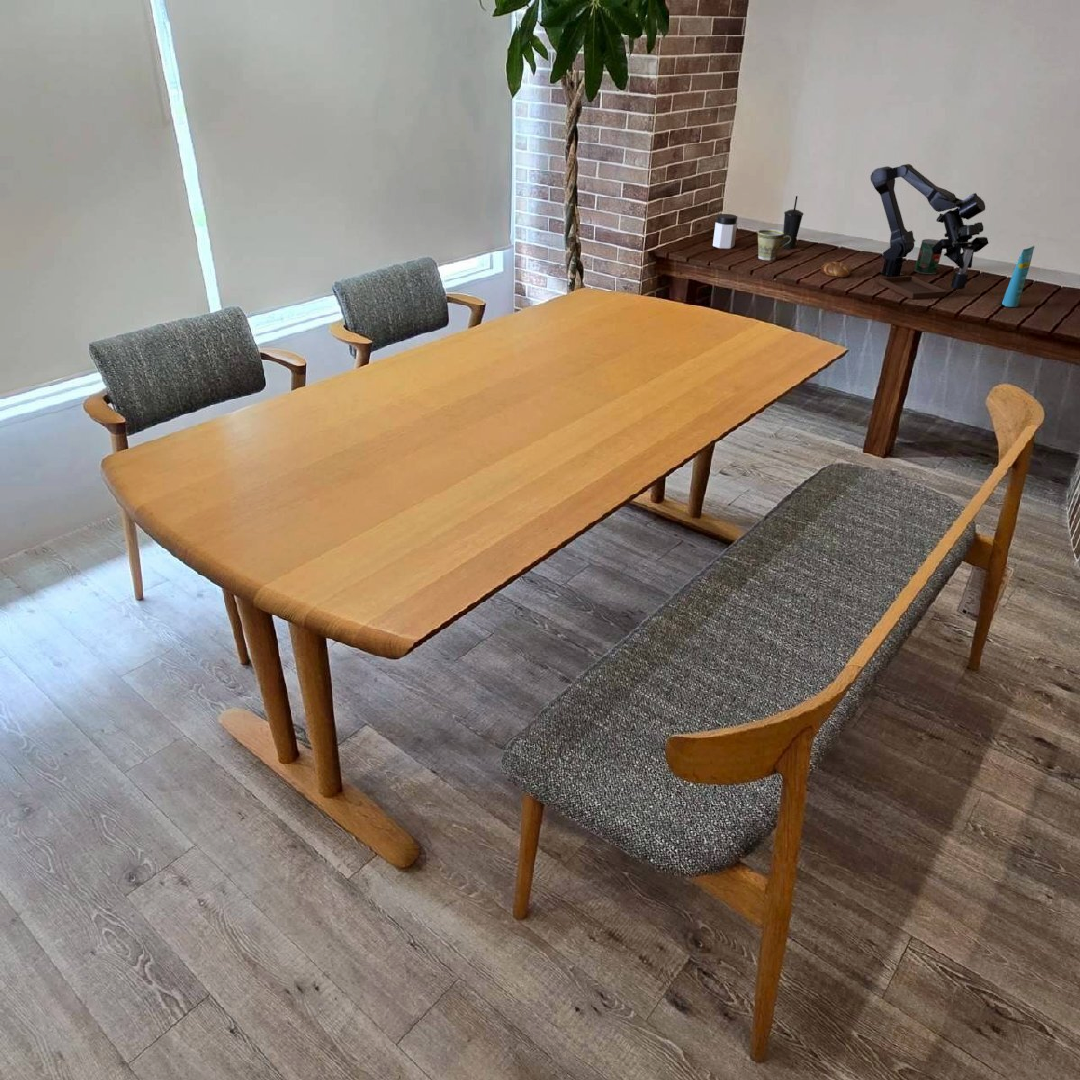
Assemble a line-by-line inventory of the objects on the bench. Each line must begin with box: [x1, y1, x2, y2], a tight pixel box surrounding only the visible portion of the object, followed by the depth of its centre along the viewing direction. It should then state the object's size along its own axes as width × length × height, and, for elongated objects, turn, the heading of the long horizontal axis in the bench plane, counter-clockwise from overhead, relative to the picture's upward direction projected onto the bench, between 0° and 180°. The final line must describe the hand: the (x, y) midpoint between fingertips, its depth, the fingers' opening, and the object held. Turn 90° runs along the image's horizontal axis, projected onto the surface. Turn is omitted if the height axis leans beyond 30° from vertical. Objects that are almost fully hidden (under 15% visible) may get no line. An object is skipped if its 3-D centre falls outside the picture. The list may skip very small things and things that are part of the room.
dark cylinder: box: [950, 248, 973, 290], centre depth 289 cm, size 4×4×13 cm
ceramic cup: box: [757, 228, 791, 262], centre depth 328 cm, size 13×10×10 cm
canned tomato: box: [914, 238, 944, 275], centre depth 315 cm, size 8×8×11 cm
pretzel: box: [820, 261, 852, 279], centre depth 312 cm, size 12×11×4 cm
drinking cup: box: [781, 195, 805, 250], centre depth 341 cm, size 8×8×20 cm
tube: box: [1001, 245, 1035, 308], centre depth 279 cm, size 7×5×19 cm, turn 134°
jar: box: [712, 213, 738, 250], centre depth 343 cm, size 9×8×12 cm
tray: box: [878, 275, 948, 300], centre depth 297 cm, size 20×14×2 cm
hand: (966, 267), depth 288 cm, fingers closed on dark cylinder, 3 cm apart
